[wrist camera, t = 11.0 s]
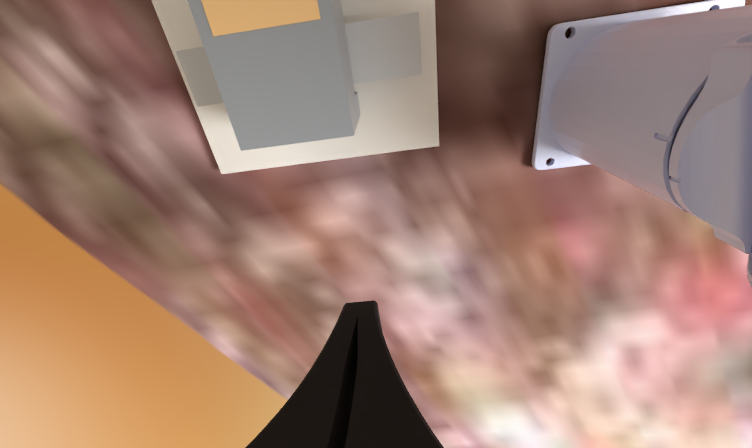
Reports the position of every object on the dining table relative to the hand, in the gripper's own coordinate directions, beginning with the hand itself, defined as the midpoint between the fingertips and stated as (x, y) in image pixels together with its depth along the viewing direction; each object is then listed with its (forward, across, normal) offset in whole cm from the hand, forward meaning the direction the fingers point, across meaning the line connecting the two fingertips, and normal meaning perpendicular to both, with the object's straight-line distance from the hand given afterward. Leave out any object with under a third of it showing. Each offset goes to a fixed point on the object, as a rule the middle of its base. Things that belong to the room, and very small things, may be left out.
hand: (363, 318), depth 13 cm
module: (+9, +2, -10) cm, 14 cm away
